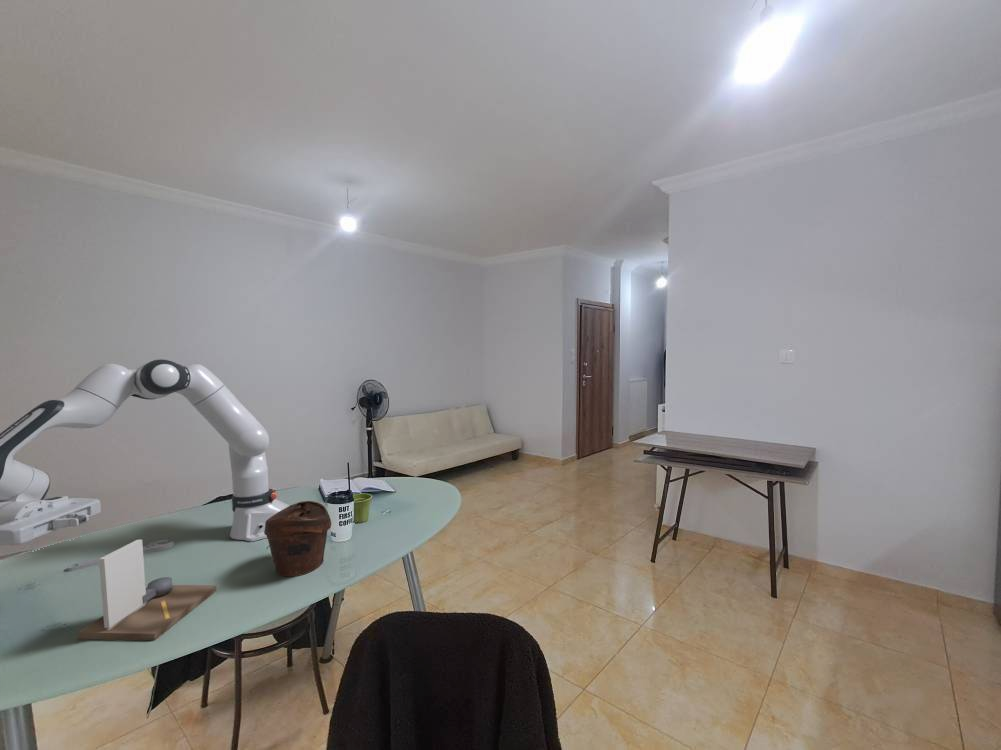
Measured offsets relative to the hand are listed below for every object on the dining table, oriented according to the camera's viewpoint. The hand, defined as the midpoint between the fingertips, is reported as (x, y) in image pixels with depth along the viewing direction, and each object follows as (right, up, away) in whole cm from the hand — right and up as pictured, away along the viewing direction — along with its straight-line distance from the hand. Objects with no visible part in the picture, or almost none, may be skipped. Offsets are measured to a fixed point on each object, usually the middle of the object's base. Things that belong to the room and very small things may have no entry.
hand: (82, 520), depth 107 cm
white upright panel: (+12, -22, +3) cm, 25 cm away
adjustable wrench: (-19, -23, +34) cm, 45 cm away
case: (+40, -22, +26) cm, 53 cm away
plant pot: (+47, -20, +60) cm, 79 cm away
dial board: (+15, -24, +3) cm, 28 cm away
